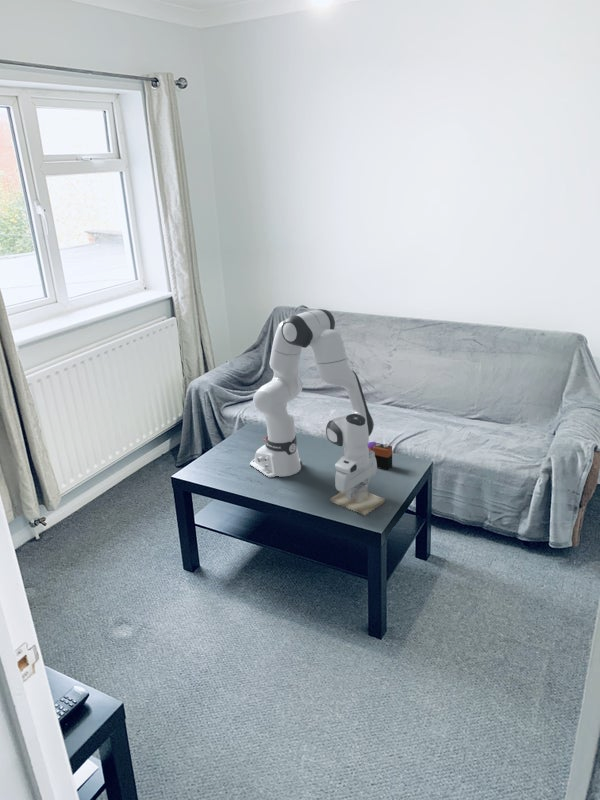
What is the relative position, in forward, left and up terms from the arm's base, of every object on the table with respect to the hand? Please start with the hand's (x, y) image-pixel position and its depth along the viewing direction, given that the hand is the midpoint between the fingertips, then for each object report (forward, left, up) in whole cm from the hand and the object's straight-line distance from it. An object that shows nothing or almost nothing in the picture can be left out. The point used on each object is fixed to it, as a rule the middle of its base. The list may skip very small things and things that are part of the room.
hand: (357, 492), depth 225 cm
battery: (-9, +28, -4) cm, 30 cm away
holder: (0, 0, -4) cm, 4 cm away
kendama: (-17, +27, -4) cm, 32 cm away
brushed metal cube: (0, 0, -2) cm, 3 cm away
